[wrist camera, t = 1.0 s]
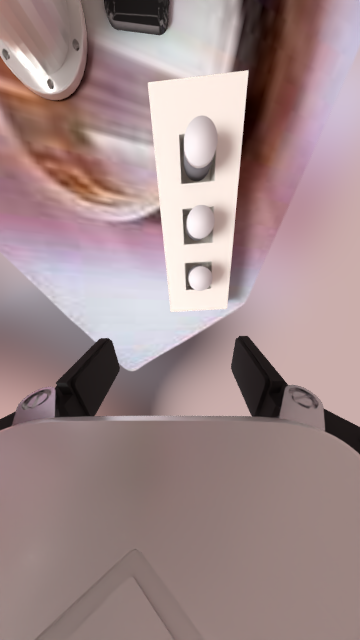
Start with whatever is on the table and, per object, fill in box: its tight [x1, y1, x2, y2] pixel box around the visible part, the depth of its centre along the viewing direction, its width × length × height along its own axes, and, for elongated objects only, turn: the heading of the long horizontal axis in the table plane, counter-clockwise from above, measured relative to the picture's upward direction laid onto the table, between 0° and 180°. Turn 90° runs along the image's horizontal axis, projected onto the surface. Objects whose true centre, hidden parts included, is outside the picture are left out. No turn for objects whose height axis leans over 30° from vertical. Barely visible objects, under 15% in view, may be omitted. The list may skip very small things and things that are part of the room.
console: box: [148, 71, 248, 312], centre depth 25 cm, size 30×12×5 cm, turn 4°
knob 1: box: [184, 116, 218, 181], centre depth 18 cm, size 4×4×4 cm
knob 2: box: [188, 265, 212, 291], centre depth 25 cm, size 4×4×4 cm
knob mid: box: [186, 205, 215, 241], centre depth 22 cm, size 4×4×4 cm
